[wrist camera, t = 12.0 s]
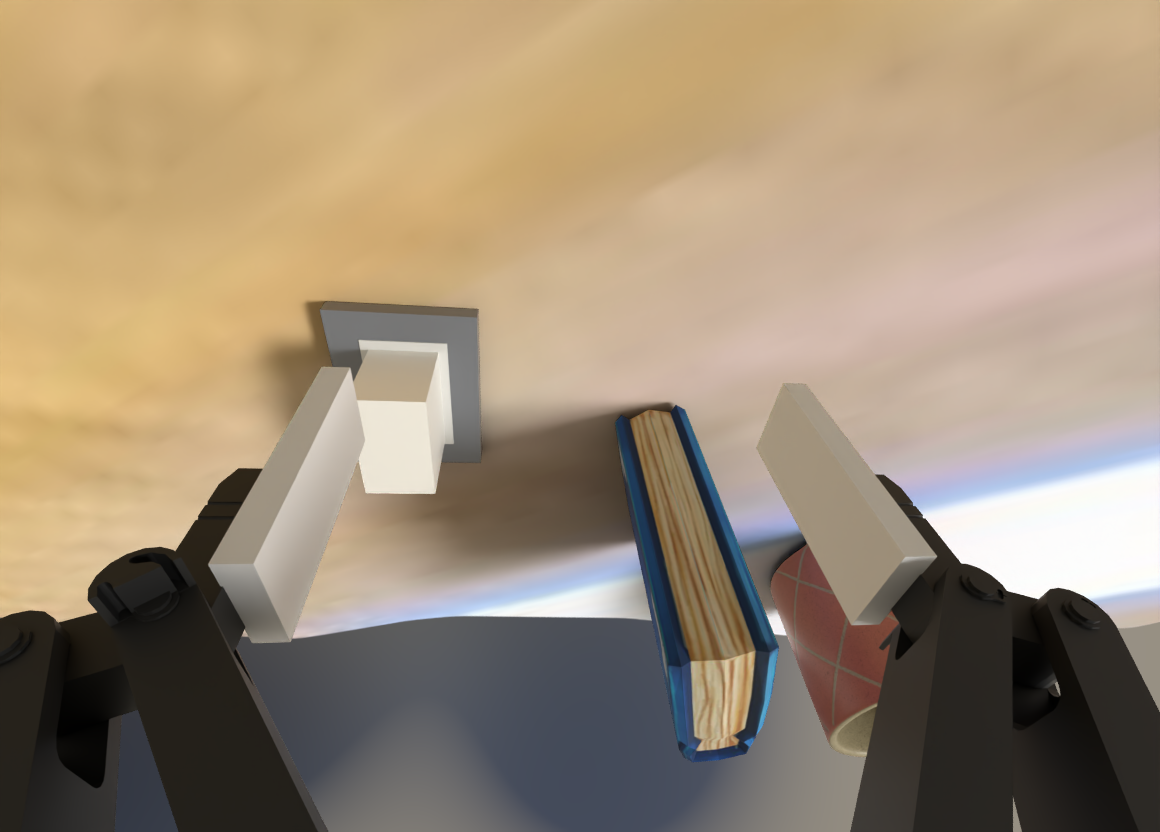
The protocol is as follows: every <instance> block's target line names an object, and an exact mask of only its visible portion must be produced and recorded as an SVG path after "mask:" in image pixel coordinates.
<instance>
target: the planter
mask: <svg viewBox="0 0 1160 832" xmlns="http://www.w3.org/2000/svg"><path fill="white" fill-rule="evenodd" d="M770 590H771V593H772V597H773V600H774V603H775V605H776V608H777V610H778V613H779V616H780V618H781V621H782V623H783V626H784V629H785V631H786V634H787V636H788V639H789V642H790V644H791V647H792V649H793V652H794V655H795V657H796V660H797V663H798V666H799V668H800V670H801V674H802V676H803V679H804V681H805V684H806V687H807V689H808V692H809V694H810V697H811V699H812V702H813V704H814V707H815V709H816V712H817V714H818V717H819V720H820V722H821V725H822V727H823V730H824V732H825V735H826V737H827V740H828V742H829V744H830V746H831V747H832V748H833V749H834V750H835V751H837V752H839V753H842V754H845V755H850V756H856V757H866V756H867V751H868V746H869V742H870V737H871V732H872V727H873V723H874V718H875V713H876V709H877V704H878V699H879V695H880V690H881V685H882V680H883V676H884V671H885V666H886V662H887V657H888V652H889V647H890V645H888V646H887V647H886V648H885V649H884V650H881V649H879V646H880V645H881V643H882V642H883V641H884V639H885V638H886V637H887V636H888V635H889V634H890V633H891V632H892V630H893V629H894V628H895V627H896V626H897V625H898V624H899V622H898V620H897V619H896V617H895V615H894V614H893V612H892V611H891V612H890V613H889V614H888V615H887V616H886V617H885V619H884V620H883V621H882V622H881V623H880V624H879V625H851V624H850V622H849V620H848V618H847V616H846V614H845V613H844V611H843V609H842V607H841V605H840V603H839V601H838V599H837V598H836V596H835V594H834V592H833V590H832V588H831V586H830V585H829V583H828V581H827V579H826V577H825V575H824V573H823V571H822V570H821V568H820V566H819V564H818V562H817V560H816V558H815V557H814V555H813V553H812V551H811V549H810V547H809V545H808V544H806V545H805V546H804V547H802V548H801V549H800V550H798V551H797V552H795V553H794V554H793V555H791V556H790V557H789V558H787V559H786V560H785V561H784V562H783V563H782V564H781V565H780V566H779V568H778V569H777V570H776V572H775V573H774V575H773V577H772V580H771V586H770Z"/></svg>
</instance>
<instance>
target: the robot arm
mask: <svg viewBox="0 0 1160 832" xmlns="http://www.w3.org/2000/svg"><path fill="white" fill-rule="evenodd" d="M364 443H365V437H364V432H363V427H362V422H361V417H360V412H359V408H358V403H357V398H356V393H355V388H354V383H353V379H352V374H351V369H350V368H349V367H321V369H320V371H319V372H318V374H317V376H316V377H315V379H314V381H313V383H312V384H311V386H310V388H309V390H308V391H307V393H306V395H305V397H304V398H303V400H302V402H301V404H300V405H299V407H298V409H297V411H296V412H295V414H294V416H293V417H292V419H291V421H290V423H289V424H288V426H287V428H286V430H285V431H284V433H283V435H282V437H281V438H280V440H279V442H278V444H277V445H276V447H275V449H274V451H273V452H272V454H271V456H270V457H269V459H268V461H267V463H266V464H265V466H264V468H263V469H249V468H239V469H237V470H236V471H235V472H234V473H232V474H231V475H230V476H228V477H227V478H226V479H225V480H223V481H222V482H221V483H220V484H219V485H218V487H217V488H216V490H215V491H214V493H213V494H212V496H211V497H210V499H209V500H208V505H205V507H204V508H203V510H202V511H201V513H200V514H199V516H198V520H195V522H194V523H193V525H192V527H191V528H190V530H189V531H188V533H187V534H186V536H185V537H184V539H183V540H182V542H181V543H180V545H179V547H178V548H177V550H176V551H174V550H171V549H167V548H163V547H155V548H144V549H141V550H138V551H135V552H132V553H129V554H126V555H124V556H123V557H121V558H119V559H117V560H115V561H114V562H112V563H110V564H109V565H108V566H107V567H106V568H104V569H103V570H102V571H101V572H100V573H99V574H98V575H97V576H96V577H95V579H94V580H93V582H92V583H91V585H90V587H89V588H88V601H89V603H90V604H91V605H92V606H93V607H94V608H95V610H96V611H97V613H93V614H89V615H86V616H82V617H78V618H74V619H70V620H67V621H63V622H59V623H58V622H57V621H56V620H55V619H54V618H53V617H51V616H50V615H49V614H47V613H46V612H42V611H31V610H30V611H25V612H20V613H15V614H11V615H8V616H6V617H3V618H1V619H0V832H115V831H114V830H115V815H116V799H117V783H118V767H119V751H120V735H121V719H122V715H123V714H126V713H129V712H132V711H135V710H138V711H139V714H140V717H141V720H142V723H143V726H144V729H145V732H146V735H147V738H148V741H149V744H150V747H151V750H152V753H153V756H154V759H155V762H156V765H157V768H158V771H159V774H160V777H161V780H162V783H163V786H164V789H165V792H166V795H167V798H168V801H169V804H170V807H171V810H172V813H173V816H174V819H175V822H176V825H177V828H178V831H179V832H328V830H327V828H326V826H325V824H324V822H323V820H322V819H321V816H320V814H319V812H318V810H317V808H316V806H315V804H314V802H313V800H312V798H311V796H310V794H309V792H308V790H307V788H306V786H305V784H304V782H303V780H302V778H301V776H300V774H299V772H298V770H297V768H296V766H295V764H294V762H293V760H292V758H291V756H290V754H289V752H288V750H287V748H286V746H285V744H284V742H283V740H282V738H281V736H280V734H279V732H278V730H277V728H276V726H275V724H274V722H273V720H272V718H271V716H270V714H269V712H268V710H267V708H266V706H265V704H264V702H263V700H262V698H261V696H260V694H259V692H258V690H257V688H256V686H255V684H254V682H253V680H252V678H251V676H250V674H249V672H248V670H247V668H246V666H245V664H244V662H243V660H242V658H241V656H240V654H239V652H238V650H237V649H236V647H237V645H238V642H239V640H240V637H241V636H242V634H243V631H244V629H245V631H246V633H247V634H248V636H249V638H250V640H251V642H252V643H270V642H291V639H292V636H293V634H294V631H295V628H296V626H297V623H298V620H299V618H300V615H301V612H302V610H303V607H304V604H305V602H306V599H307V596H308V593H309V591H310V588H311V585H312V583H313V580H314V577H315V575H316V572H317V569H318V567H319V564H320V561H321V559H322V556H323V553H324V551H325V548H326V545H327V542H328V540H329V537H330V534H331V532H332V529H333V526H334V524H335V521H336V518H337V516H338V513H339V510H340V508H341V505H342V502H343V500H344V497H345V494H346V491H347V489H348V486H349V483H350V481H351V478H352V475H353V473H354V470H355V467H356V465H357V462H358V459H359V457H360V454H361V451H362V449H363V446H364ZM757 450H758V452H759V454H760V456H761V458H762V460H763V461H764V463H765V465H766V467H767V469H768V471H769V473H770V475H771V476H772V478H773V480H774V482H775V484H776V486H777V488H778V489H779V491H780V493H781V495H782V497H783V499H784V501H785V502H786V504H787V506H788V508H789V510H790V512H791V514H792V516H793V517H794V519H795V521H796V523H797V525H798V527H799V529H800V530H801V532H802V534H803V536H804V538H805V540H806V542H807V544H808V545H809V547H810V549H811V551H812V553H813V555H814V557H815V558H816V560H817V562H818V564H819V566H820V568H821V570H822V571H823V573H824V575H825V577H826V579H827V581H828V583H829V585H830V586H831V588H832V590H833V592H834V594H835V596H836V598H837V599H838V601H839V603H840V605H841V607H842V609H843V611H844V613H845V614H846V616H847V618H848V620H849V622H850V624H851V625H879V624H880V623H881V622H882V621H883V620H884V619H885V617H886V616H887V615H888V614H889V613H890V612H891V611H892V612H893V614H894V615H895V617H896V619H897V620H898V622H899V624H898V625H897V626H896V627H895V628H894V629H893V630H892V632H891V633H890V634H889V635H888V636H887V637H886V638H885V639H884V641H883V642H882V643H881V645H880V646H879V649H881V650H884V649H885V648H886V647H887V646H888V645H890V647H889V652H888V657H887V662H886V666H885V671H884V676H883V680H882V685H881V690H880V695H879V699H878V704H877V709H876V713H875V718H874V723H873V727H872V732H871V737H870V742H869V746H868V751H867V756H866V760H865V766H864V770H863V775H862V780H861V784H860V789H859V793H858V798H857V803H856V808H855V812H854V817H853V822H852V827H851V831H850V832H1013V798H1014V802H1015V805H1016V809H1017V813H1018V817H1019V821H1020V825H1021V829H1022V832H1160V712H1159V710H1158V708H1157V706H1156V704H1155V702H1154V700H1153V698H1152V696H1151V694H1150V692H1149V690H1148V688H1147V686H1146V684H1145V682H1144V680H1143V678H1142V676H1141V674H1140V672H1139V670H1138V668H1137V666H1136V664H1135V662H1134V660H1133V658H1132V657H1131V655H1130V652H1129V650H1128V648H1127V647H1126V645H1125V643H1124V641H1123V639H1122V637H1121V635H1120V633H1119V631H1118V629H1117V627H1116V625H1115V624H1114V622H1113V621H1112V620H1111V618H1110V617H1109V615H1108V614H1106V613H1105V612H1104V611H1103V610H1102V609H1101V608H1100V607H1099V606H1098V605H1096V604H1095V603H1094V602H1092V601H1090V600H1089V599H1087V598H1086V597H1084V596H1082V595H1080V594H1078V593H1075V592H1073V591H1071V590H1066V589H1061V588H1055V589H1050V590H1049V591H1047V592H1046V593H1045V594H1044V595H1043V596H1042V597H1041V598H1040V599H1035V598H1031V597H1027V596H1024V595H1020V594H1016V593H1012V592H1008V591H1006V589H1005V588H1004V587H1003V585H1002V584H1001V583H1000V582H998V581H997V580H996V579H995V578H994V577H993V576H991V575H990V574H988V573H986V572H985V571H983V570H981V569H980V568H977V567H974V566H971V565H968V564H961V563H960V561H959V560H958V559H957V558H956V556H955V555H954V554H953V553H952V551H951V550H950V549H949V548H948V546H947V545H946V544H945V543H944V541H943V540H942V539H941V538H940V536H939V535H938V534H937V533H936V531H935V530H934V529H933V528H932V526H931V525H930V524H929V523H928V521H927V520H926V519H923V515H922V514H921V512H920V511H919V510H918V509H917V507H916V506H913V502H912V501H911V500H910V499H909V497H908V496H907V495H906V494H905V492H904V491H903V490H902V489H901V488H900V487H899V486H898V485H896V484H895V483H894V482H893V481H891V480H890V479H889V478H887V477H886V476H885V475H875V474H874V473H873V472H872V470H871V469H870V468H869V466H868V465H867V464H866V462H865V461H864V460H863V458H862V457H861V456H860V455H859V453H858V452H857V451H856V449H855V448H854V447H853V445H852V444H851V443H850V441H849V440H848V439H847V437H846V436H845V435H844V434H843V432H842V431H841V430H840V428H839V427H838V426H837V424H836V423H835V422H834V420H833V419H832V418H831V417H830V415H829V414H828V413H827V411H826V410H825V409H824V407H823V406H822V405H821V403H820V402H819V401H818V399H817V398H816V397H815V396H814V394H813V393H812V392H811V390H810V389H809V388H808V386H807V385H806V384H793V383H783V385H782V387H781V390H780V392H779V394H778V397H777V399H776V402H775V404H774V407H773V409H772V411H771V414H770V416H769V419H768V421H767V423H766V426H765V428H764V431H763V433H762V436H761V438H760V440H759V443H758V445H757ZM1056 682H1058V684H1059V688H1060V694H1061V695H1059V693H1058V692H1057V689H1056V686H1055V683H1056Z"/></svg>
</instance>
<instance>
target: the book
mask: <svg viewBox="0 0 1160 832" xmlns="http://www.w3.org/2000/svg"><path fill="white" fill-rule="evenodd" d="M615 426H616V433H617V440H618V447H619V454H620V461H621V467H622V473H623V479H624V484H625V490H626V496H627V501H628V507H629V512H630V517H631V522H632V527H633V531H634V536H635V541H636V546H637V551H638V555H639V560H640V565H641V570H642V575H643V579H644V584H645V589H646V594H647V599H648V603H649V608H650V613H651V618H652V623H653V627H654V632H655V637H656V642H657V646H658V651H659V656H660V661H661V666H662V670H663V675H664V680H665V685H666V690H667V694H668V699H669V704H670V709H671V714H672V719H673V723H674V728H675V733H676V737H677V742H678V746H679V750H680V752H681V753H682V755H683V756H684V758H686V759H688V760H690V761H691V762H701V761H713V760H721V759H725V758H730V757H734V756H738V755H743V754H746V753H747V751H748V749H749V748H750V746H751V744H752V743H753V741H754V739H755V738H756V735H757V734H758V732H759V730H760V729H761V727H762V725H763V723H764V720H765V716H766V712H767V709H768V705H769V701H770V698H771V694H772V689H773V682H774V676H775V669H776V662H777V656H778V649H779V646H778V643H777V641H776V638H775V636H774V633H773V631H772V628H771V626H770V623H769V621H768V618H767V616H766V613H765V611H764V608H763V606H762V603H761V601H760V598H759V595H758V593H757V590H756V588H755V585H754V583H753V580H752V578H751V575H750V573H749V570H748V568H747V565H746V563H745V560H744V558H743V555H742V553H741V550H740V547H739V545H738V542H737V540H736V537H735V535H734V532H733V530H732V527H731V525H730V522H729V520H728V517H727V515H726V512H725V510H724V507H723V505H722V502H721V500H720V497H719V494H718V492H717V489H716V487H715V484H714V482H713V479H712V477H711V474H710V472H709V469H708V467H707V464H706V462H705V459H704V457H703V454H702V452H701V449H700V446H699V444H698V441H697V439H696V436H695V434H694V431H693V429H692V426H691V424H690V421H689V419H688V416H687V414H686V411H685V410H684V409H682V408H681V407H679V406H677V405H676V406H675V407H674V408H673V410H672V411H671V412H662V411H654V410H647V411H645V412H643V413H642V414H640V415H638V416H636V417H634V418H632V419H630V420H629V419H627V418H626V417H624V416H623V415H621V416H620V417H619V419H618V420H617V421H616V422H615Z"/></svg>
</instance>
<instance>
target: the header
mask: <svg viewBox="0 0 1160 832" xmlns="http://www.w3.org/2000/svg"><path fill="white" fill-rule="evenodd" d="M320 314H321V318H322V322H323V327H324V331H325V335H326V339H327V344H328V348H329V352H330V357H331V361H332V365H333V367H349V368H350V369H351V374H352V379H353V382H354V380H355V378H356V375H357V373H358V371H359V369H360V367H361V365H362V362H363V360H364V358H365V356H366V354H367V352H368V350H391V351H415V352H438V353H439V365H440V378H441V391H442V404H443V416H444V429H445V444H444V450H443V455H442V460H441V462H458V463H481V456H482V441H481V399H480V357H479V315H478V309H466V308H446V307H427V306H408V305H388V304H369V303H350V302H330V301H325V303H324V304H323V306H322V307H321V309H320ZM358 461H359V460H358Z"/></svg>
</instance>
